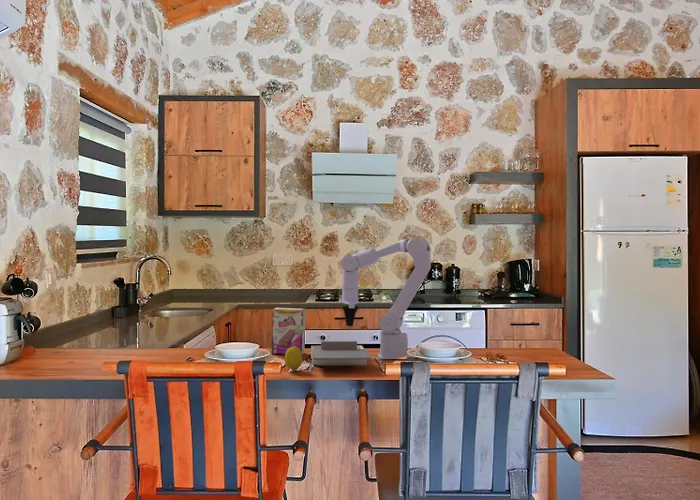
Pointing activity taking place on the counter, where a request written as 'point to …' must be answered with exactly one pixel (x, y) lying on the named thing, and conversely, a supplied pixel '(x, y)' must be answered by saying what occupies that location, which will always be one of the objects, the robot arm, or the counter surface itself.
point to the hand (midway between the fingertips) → (349, 325)
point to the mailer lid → (340, 351)
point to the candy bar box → (288, 329)
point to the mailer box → (337, 362)
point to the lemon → (293, 358)
